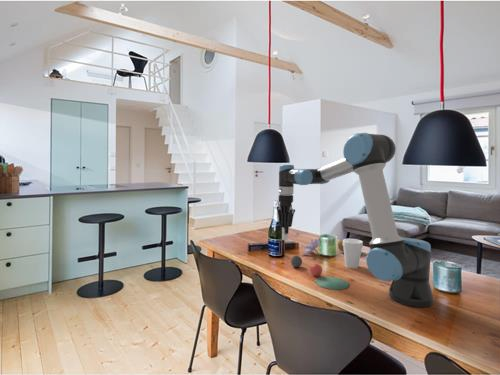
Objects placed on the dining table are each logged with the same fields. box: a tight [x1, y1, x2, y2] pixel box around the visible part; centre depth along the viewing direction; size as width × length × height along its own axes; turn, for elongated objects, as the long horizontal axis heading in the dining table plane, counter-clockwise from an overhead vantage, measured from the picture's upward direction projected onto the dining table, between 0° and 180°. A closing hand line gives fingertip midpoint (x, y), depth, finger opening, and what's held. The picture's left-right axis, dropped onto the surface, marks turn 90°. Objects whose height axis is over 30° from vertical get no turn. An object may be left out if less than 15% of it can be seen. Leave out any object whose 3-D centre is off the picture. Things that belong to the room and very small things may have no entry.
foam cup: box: [342, 238, 364, 269], centre depth 154 cm, size 10×9×13 cm
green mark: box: [315, 276, 350, 291], centre depth 133 cm, size 14×14×1 cm
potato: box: [337, 239, 344, 253], centre depth 179 cm, size 10×14×8 cm
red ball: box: [309, 263, 323, 277], centre depth 141 cm, size 6×6×6 cm
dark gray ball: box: [290, 255, 303, 268], centre depth 153 cm, size 6×6×6 cm
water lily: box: [302, 236, 322, 257], centre depth 174 cm, size 15×15×9 cm
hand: (284, 239), depth 161 cm, fingers closed
